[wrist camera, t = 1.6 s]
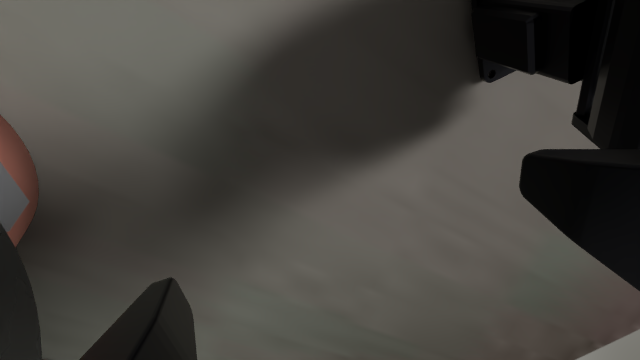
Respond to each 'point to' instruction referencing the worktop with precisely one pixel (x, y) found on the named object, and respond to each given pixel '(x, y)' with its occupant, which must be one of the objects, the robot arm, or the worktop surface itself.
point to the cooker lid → (16, 307)
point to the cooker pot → (16, 184)
